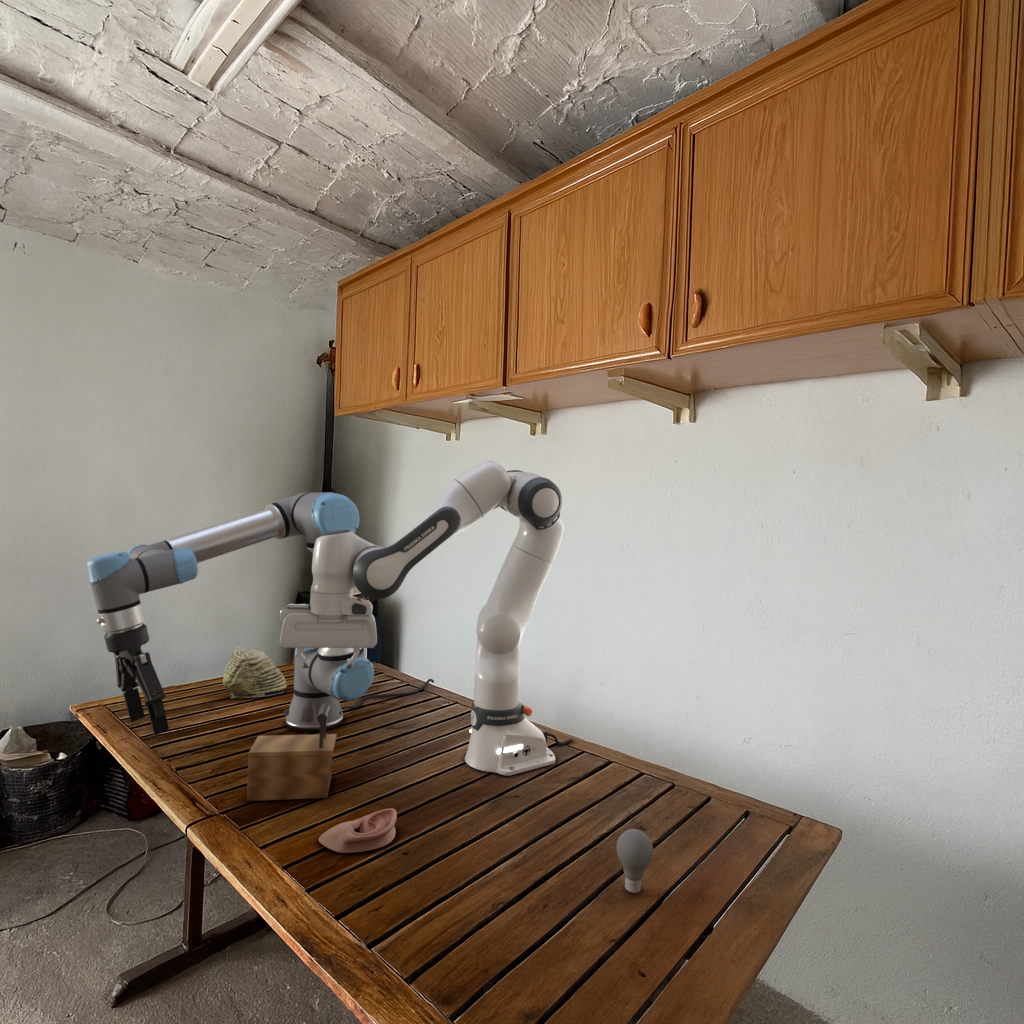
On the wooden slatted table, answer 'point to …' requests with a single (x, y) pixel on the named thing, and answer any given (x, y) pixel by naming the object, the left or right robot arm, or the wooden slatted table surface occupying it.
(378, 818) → the anatomical model
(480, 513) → the right robot arm
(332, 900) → the wooden slatted table surface
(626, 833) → the light bulb
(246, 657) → the fossil
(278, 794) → the chest
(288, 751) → the lid
